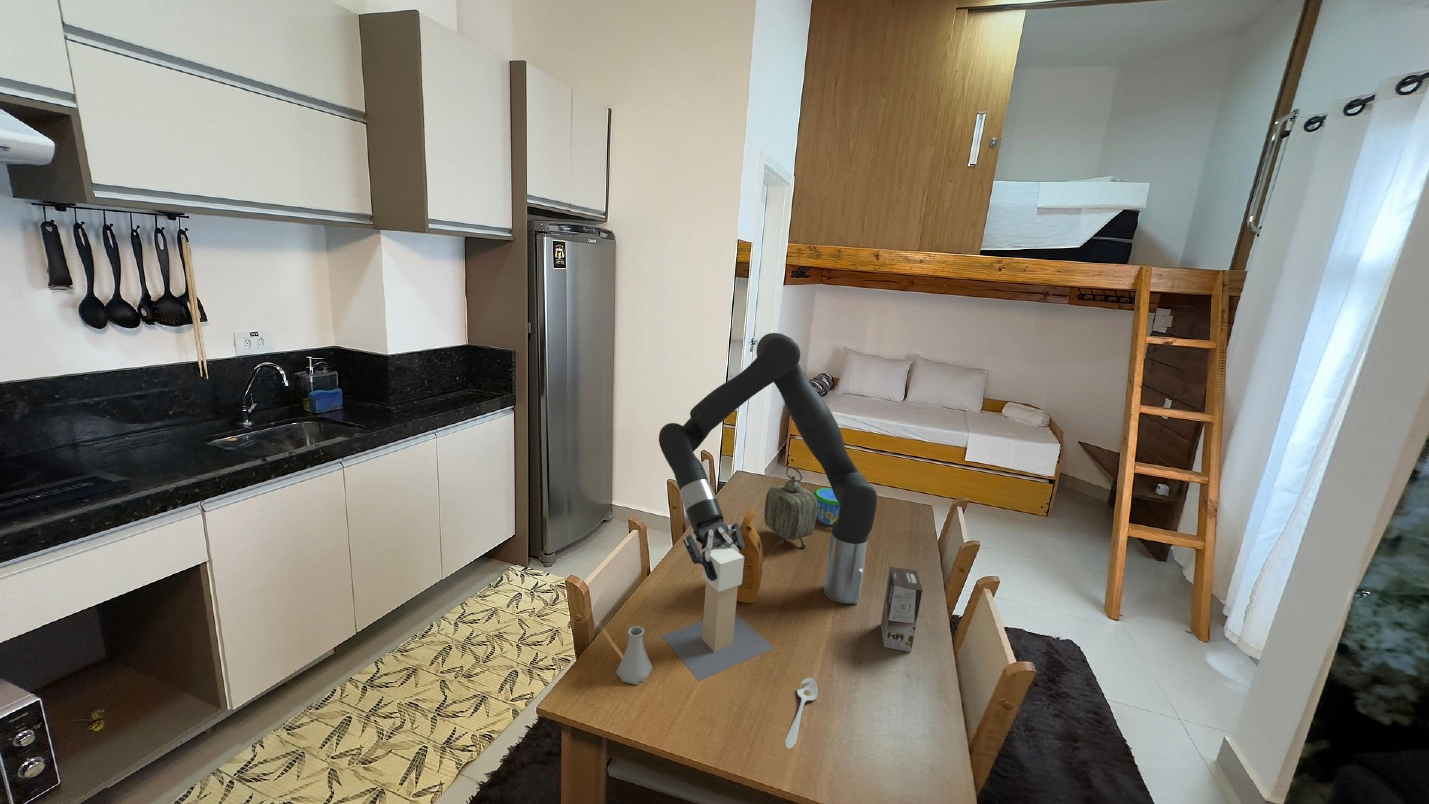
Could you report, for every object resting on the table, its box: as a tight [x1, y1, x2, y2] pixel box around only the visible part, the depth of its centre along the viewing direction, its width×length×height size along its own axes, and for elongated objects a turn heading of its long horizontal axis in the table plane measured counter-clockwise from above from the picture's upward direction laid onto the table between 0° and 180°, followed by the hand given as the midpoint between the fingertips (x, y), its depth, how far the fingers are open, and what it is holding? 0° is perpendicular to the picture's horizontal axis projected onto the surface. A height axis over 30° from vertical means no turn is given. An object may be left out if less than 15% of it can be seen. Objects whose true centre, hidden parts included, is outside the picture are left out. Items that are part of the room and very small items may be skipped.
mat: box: [661, 612, 774, 682], centre depth 125 cm, size 20×16×1 cm
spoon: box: [785, 677, 819, 749], centre depth 107 cm, size 4×21×2 cm, turn 158°
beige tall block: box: [702, 580, 738, 652], centre depth 123 cm, size 5×5×16 cm
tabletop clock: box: [764, 466, 817, 549], centre depth 171 cm, size 14×9×25 cm, turn 34°
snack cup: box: [812, 487, 840, 526], centre depth 189 cm, size 16×10×10 cm
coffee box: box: [880, 566, 924, 653], centre depth 130 cm, size 9×6×16 cm
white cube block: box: [702, 545, 744, 592], centre depth 121 cm, size 6×6×7 cm
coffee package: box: [736, 508, 763, 604], centre depth 143 cm, size 10×12×22 cm
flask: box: [615, 625, 653, 685], centre depth 114 cm, size 7×7×10 cm
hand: (727, 575), depth 120 cm, fingers closed on white cube block, 6 cm apart
